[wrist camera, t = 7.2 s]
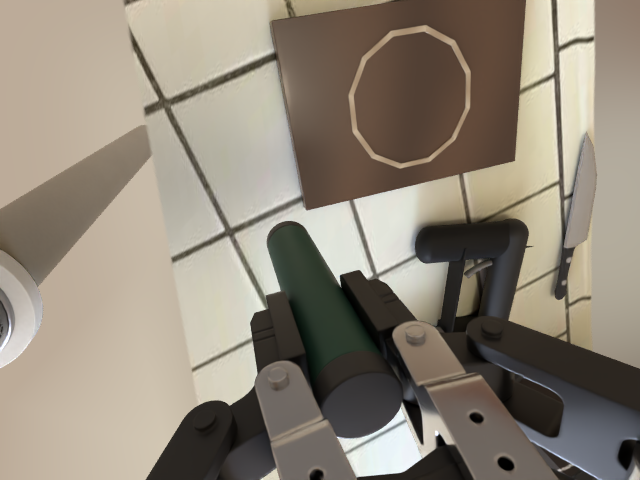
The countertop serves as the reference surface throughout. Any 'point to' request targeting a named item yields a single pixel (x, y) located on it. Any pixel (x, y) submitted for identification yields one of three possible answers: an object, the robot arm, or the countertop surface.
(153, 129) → the countertop surface
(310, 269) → the marker
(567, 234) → the chef's knife
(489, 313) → the door handle
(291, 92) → the drawing board
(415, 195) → the countertop surface
